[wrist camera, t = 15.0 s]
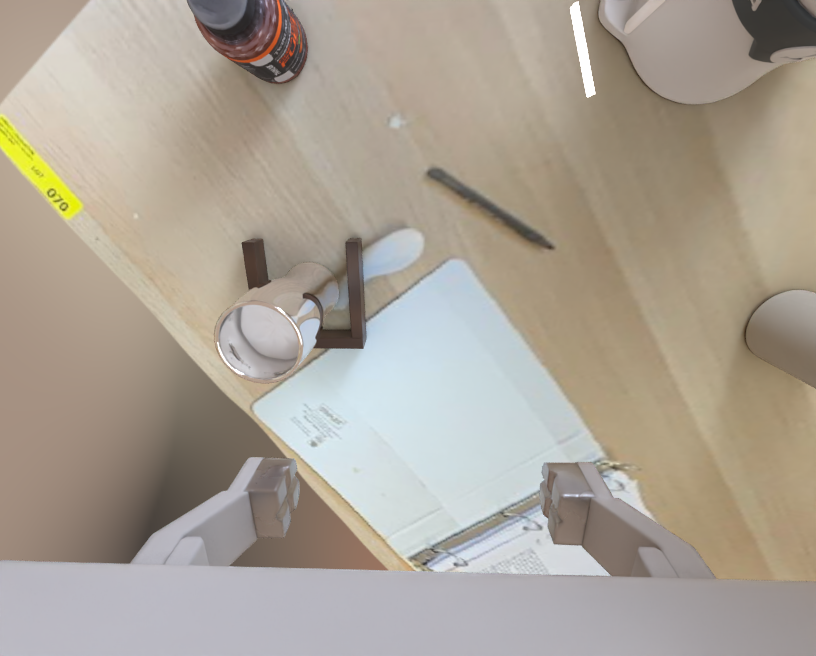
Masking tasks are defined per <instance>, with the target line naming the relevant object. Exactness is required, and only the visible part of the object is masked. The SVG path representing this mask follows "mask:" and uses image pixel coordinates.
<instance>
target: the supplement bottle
mask: <svg viewBox="0 0 816 656" xmlns="http://www.w3.org/2000/svg"><path fill="white" fill-rule="evenodd" d="M187 2H188V5H189V7H190V9H191V11H192V12H193V14H194V17H195V21H196V23H197V25H198V28H199V30H200V31H201V33H202V35H203V36H204V38H205V39H206V40H207V42H208V43H209V44H210V45H211V46H212V47H213V48H214V49H215V50H216V51H218V52H219V53H220V54H222V55H224V56H225V57H227V58H228V59H230V60H231V61H233V62H234V63H236V64H238V65H239V66H241V67H242V68H244V69H246V70H247V71H249V72H250V73H252V74H254V75H255V76H257V77H258V78H260V79H262V80H264V81H267V82H270V83H276V84H279V83H285V82H288V81H290V80H292V79H293V78H295V77H296V76H297V75H298V74H299V73H300V71H301V70H302V68H303V66H304V64H305V61H306V58H307V51H308V47H307V39H306V35H305V32H304V29H303V27H302V25H301V23H300V22H299V20H298V18H297V17H296V15H295V14H294V12H293V11H291V9H290V8H289V6H288V5H287V4H286V3H285V2H284V0H187ZM292 10H293V9H292Z"/></svg>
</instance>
